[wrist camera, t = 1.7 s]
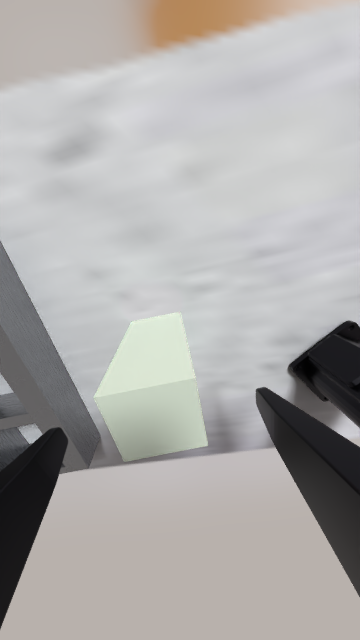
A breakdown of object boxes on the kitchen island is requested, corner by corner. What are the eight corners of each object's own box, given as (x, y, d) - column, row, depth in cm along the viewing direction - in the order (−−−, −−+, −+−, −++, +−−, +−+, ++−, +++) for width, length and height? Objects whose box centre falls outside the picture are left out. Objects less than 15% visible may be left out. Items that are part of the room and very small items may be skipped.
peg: (180, 311, 14) (195, 377, 7) (188, 353, 16) (208, 445, 8) (131, 321, 14) (93, 398, 7) (144, 362, 16) (124, 462, 8)
